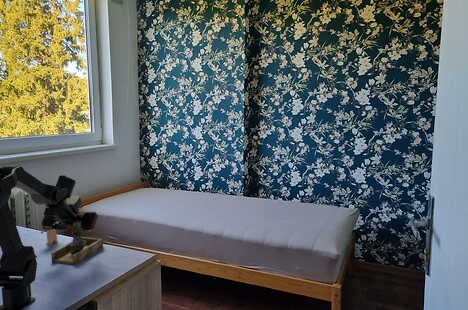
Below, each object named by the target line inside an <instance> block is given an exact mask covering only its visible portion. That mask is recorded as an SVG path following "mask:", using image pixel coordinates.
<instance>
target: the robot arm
mask: <svg viewBox="0 0 468 310" xmlns="http://www.w3.org/2000/svg"><path fill="white" fill-rule="evenodd" d="M76 183H77V181H76V180H75V179H73V178H71V177H68V176H66V175H63V174H61V175H59V176H58V178H57V181H56V184H55V185H53V184H49V183H44V182H42V181H41V180H40V179H38V178H37V177H35V176H33V175H32V174H31V173H29V172H28V171H26V170H25V169H24V167H23V166H20V165H3V166H0V249H1V253H2V254H1V256H0V288H1V298H2V299H1V300H2V304H1V305H0V310H22V309H24V308H26V307H27V306H28V305H30V304H31V303H33V302H34V301H36V297H32V289H31V287H32V286H31V284H32V283H33V282H35V280H36V277H37V276H36V275H37V268H38V261H37V259H36V258H38V256H37V254H36V252H35V250H34V247H33V245H24V244H23V242H22V239H21V236H20V233H19V229H18V227H17V224H16V222H15V218H14V216H13V213H12V210H11V208H10V207H11V206H10V205H9V200H10V197H11V195H12V189H14V188H16V187H17V188H18V189H20V190H22V191H23V192H26V193H27V194H29V195H30V199H31V201H32V202H34V203H35V204H36V205H45V207H44V208H45V209H44V212H43V218H42V221H41V222H40V223H41V227H44V228H48V229H54V230H56V231H65V232H68V231H69V227H73V225H74V224H75V223H76V222H77V223H80V225H81V230H82V231H85V232H92V230H94V229H95V225H96V223H97V220H98V218H99V217H98V216H99V215H98V213H97V211H85V212H84V213H83V214H79V211H80V206H81V205H83V203H82V199H81V196H80V195H77V194H76V195H74V194H72V193H73V191H74V188H75V186H76Z"/></svg>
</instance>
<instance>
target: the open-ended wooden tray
mask: <svg viewBox="0 0 468 310" xmlns="http://www.w3.org/2000/svg"><path fill="white" fill-rule="evenodd" d="M82 240H85V241H86V243H85V247H84V248H83V249H82V250H81V251H79V252H77V253H76V254H74V255H72V254H71V251H73V250H72V249H71V247H70V245H69V243H71V242H72V241H70V242H68V243H66V244H65V245H64V244H63V246H61V247H59V248H57V249H55V250H53V251H51V252H50V253H51V254H50V256H51V257H50V258H51V263H58V264H65V265H71V266H72V265H74V266H77V265H78V264H80V263H81V262H82V261H84V260H86V259H88V258H89V257H91V256H92V255H93V254H96V253H97V252H98V251H100V250H101V249H103V248H104V239H103V238H96V237H86V236H82Z"/></svg>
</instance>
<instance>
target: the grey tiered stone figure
mask: <svg viewBox="0 0 468 310" xmlns="http://www.w3.org/2000/svg"><path fill="white" fill-rule="evenodd" d="M82 234H83V231H82V228H81V223H80V222H74V223H73V226H72V232H71V235H72V241H70V242H71V243H70V242H68V243H69V245H70V247H71V249H72V250H73V251H71V254H72V255H74V254H76V253H77V252H79V251H81V250H82V249H83V248H84V247H85V243H86V241H85V240H82V237H83V236H82Z"/></svg>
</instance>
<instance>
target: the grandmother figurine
mask: <svg viewBox="0 0 468 310" xmlns="http://www.w3.org/2000/svg"><path fill="white" fill-rule="evenodd" d="M45 230H46V241H47V242H46V245H47V246H52V245H53V244H57V243H59V241H58V234H57V230H54V229H48V228H44V227H43V226H41V231H40V233H41V235H42V234H44V233H45Z"/></svg>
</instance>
